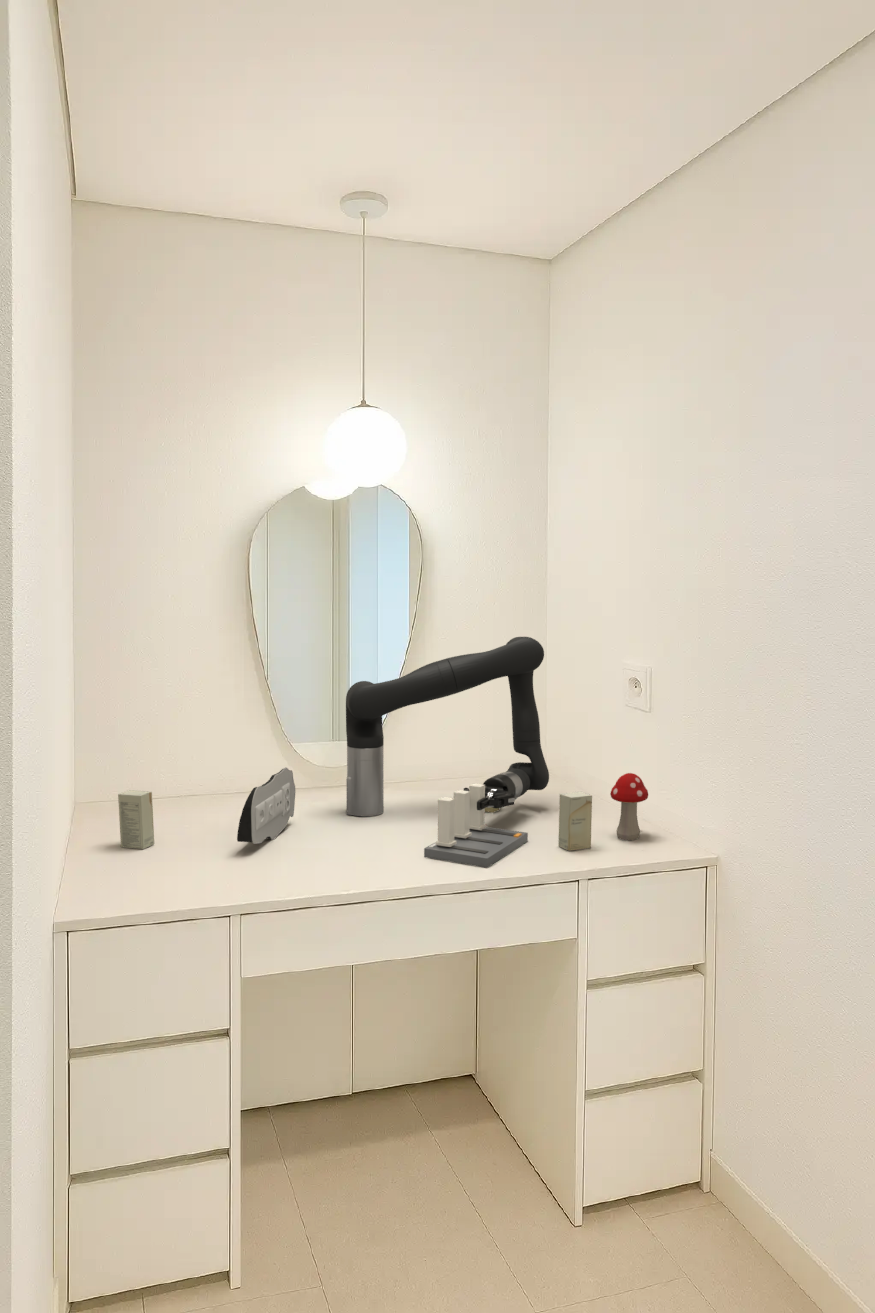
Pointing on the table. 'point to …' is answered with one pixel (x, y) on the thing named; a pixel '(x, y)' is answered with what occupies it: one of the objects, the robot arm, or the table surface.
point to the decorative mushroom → (629, 804)
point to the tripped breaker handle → (476, 815)
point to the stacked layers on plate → (491, 809)
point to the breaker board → (469, 836)
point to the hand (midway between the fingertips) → (471, 805)
